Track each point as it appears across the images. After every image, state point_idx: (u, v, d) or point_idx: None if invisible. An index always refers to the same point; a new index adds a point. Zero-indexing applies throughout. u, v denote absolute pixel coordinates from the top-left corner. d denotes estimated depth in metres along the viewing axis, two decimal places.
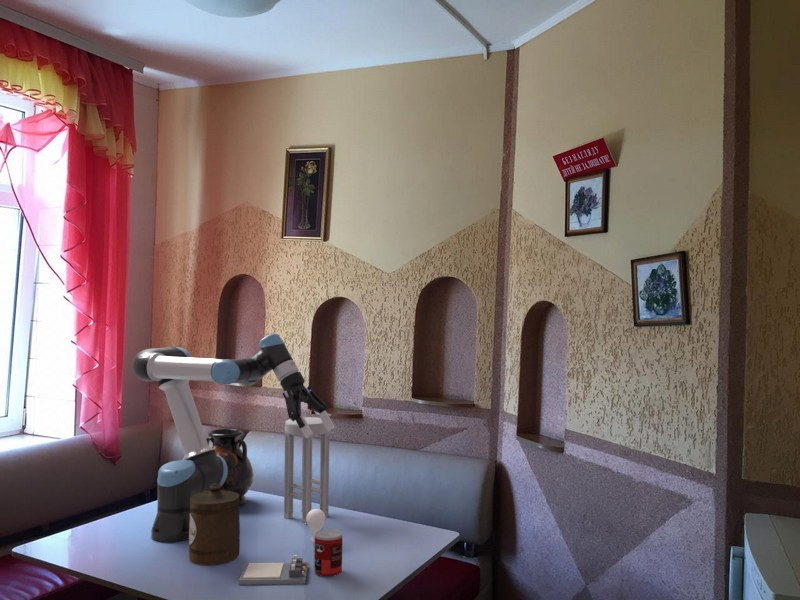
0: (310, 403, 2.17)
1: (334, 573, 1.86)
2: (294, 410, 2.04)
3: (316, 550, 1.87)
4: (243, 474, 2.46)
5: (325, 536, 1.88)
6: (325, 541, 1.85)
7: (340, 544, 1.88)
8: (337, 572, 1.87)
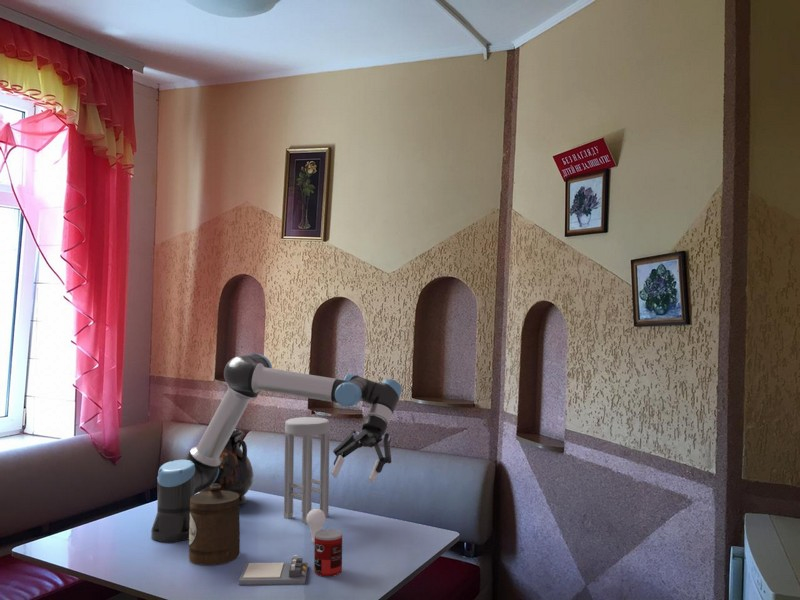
0: (353, 446, 2.09)
1: (334, 573, 1.86)
2: None
3: (316, 550, 1.87)
4: (243, 474, 2.46)
5: (325, 536, 1.88)
6: (325, 541, 1.85)
7: (340, 544, 1.88)
8: (337, 572, 1.87)
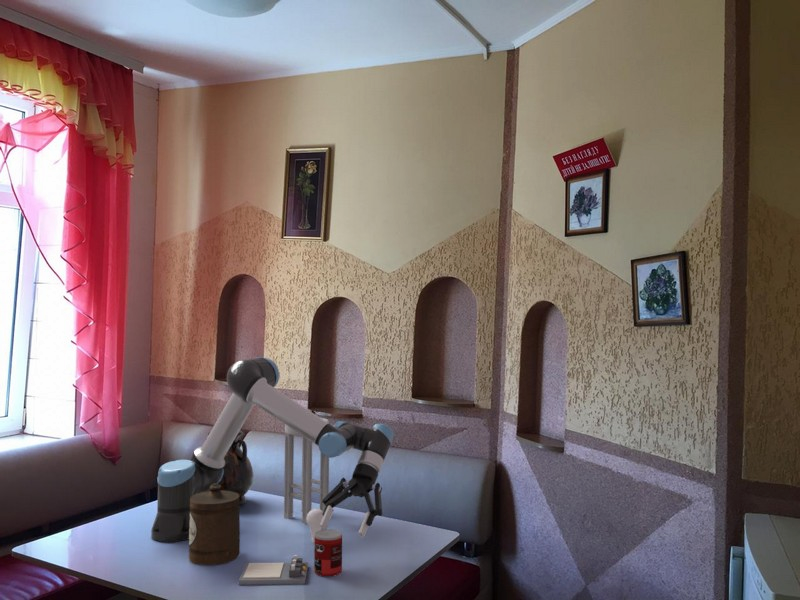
0: (343, 496, 2.02)
1: (334, 573, 1.86)
2: None
3: (316, 550, 1.87)
4: (243, 474, 2.46)
5: (325, 536, 1.88)
6: (325, 541, 1.85)
7: (340, 544, 1.88)
8: (337, 572, 1.87)
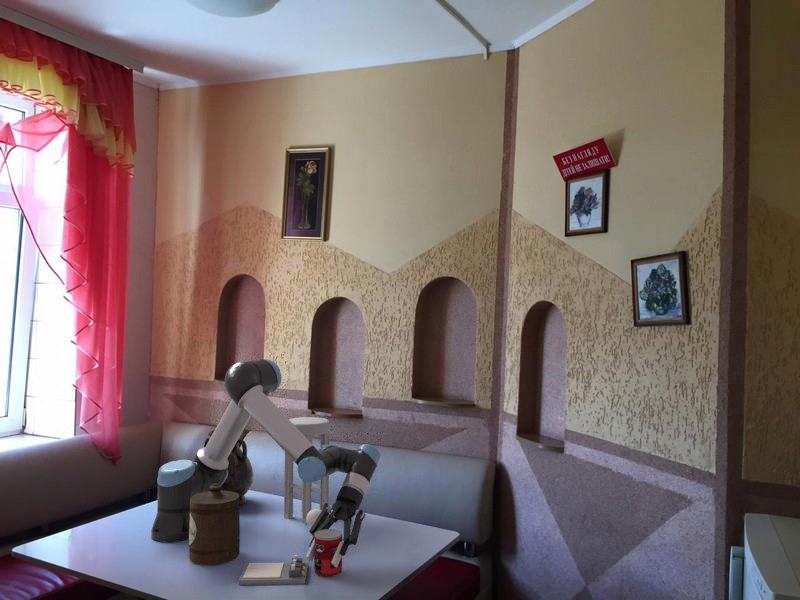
0: (329, 522, 1.94)
1: (334, 573, 1.86)
2: None
3: (316, 550, 1.87)
4: (243, 474, 2.46)
5: (325, 536, 1.88)
6: (325, 541, 1.85)
7: None
8: (337, 572, 1.87)
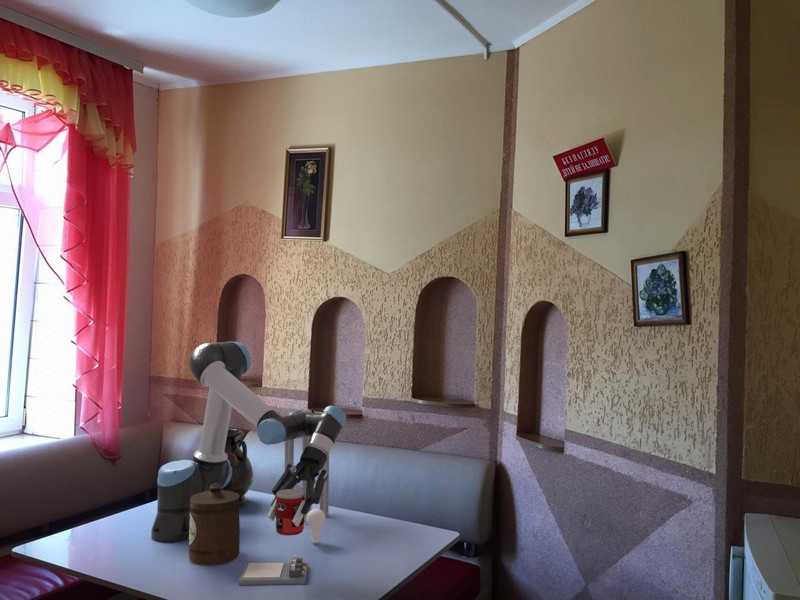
0: (292, 482, 1.92)
1: (295, 532, 1.84)
2: None
3: (277, 509, 1.84)
4: (243, 474, 2.46)
5: (287, 495, 1.85)
6: (286, 500, 1.83)
7: None
8: (299, 531, 1.84)
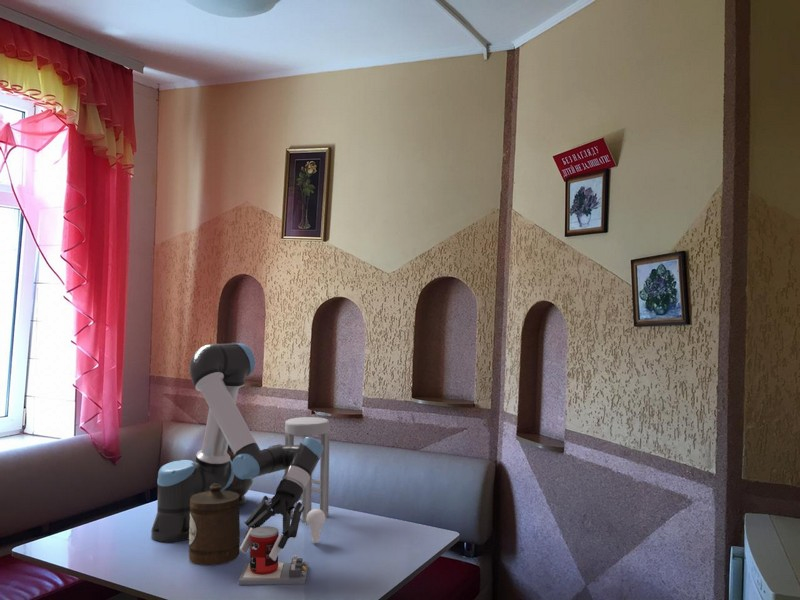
0: (266, 515, 1.92)
1: (269, 571, 1.83)
2: None
3: (251, 548, 1.84)
4: None
5: (260, 533, 1.85)
6: (259, 539, 1.82)
7: (275, 541, 1.84)
8: (272, 570, 1.83)
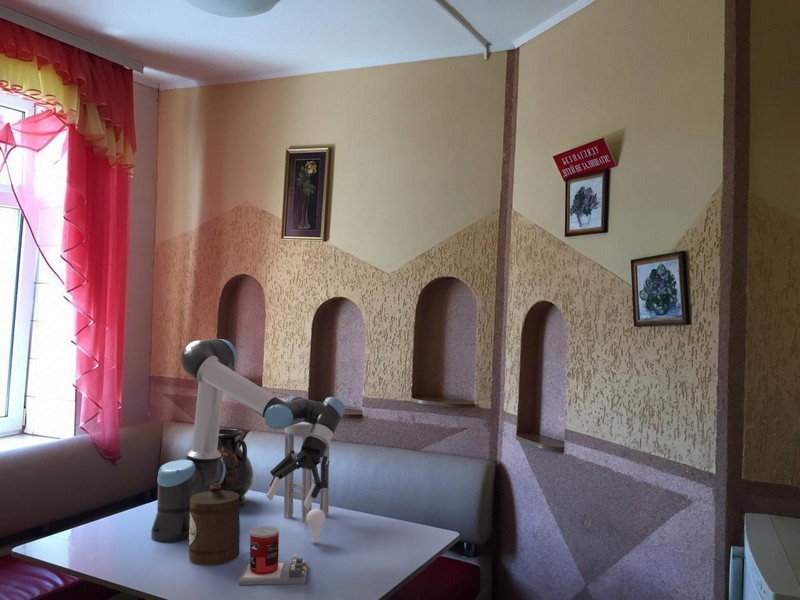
0: (291, 468, 2.04)
1: (269, 571, 1.83)
2: None
3: (251, 547, 1.84)
4: (243, 474, 2.46)
5: (261, 533, 1.85)
6: (260, 539, 1.82)
7: (276, 541, 1.85)
8: (272, 570, 1.84)
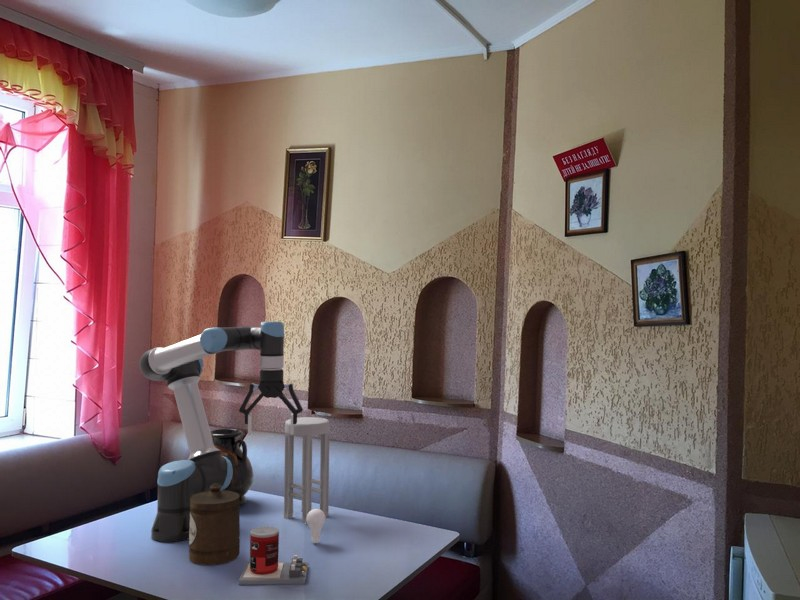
0: (258, 401, 2.13)
1: (269, 571, 1.83)
2: None
3: (251, 547, 1.84)
4: (243, 474, 2.46)
5: (261, 533, 1.85)
6: (260, 539, 1.82)
7: (276, 541, 1.84)
8: (272, 570, 1.84)
